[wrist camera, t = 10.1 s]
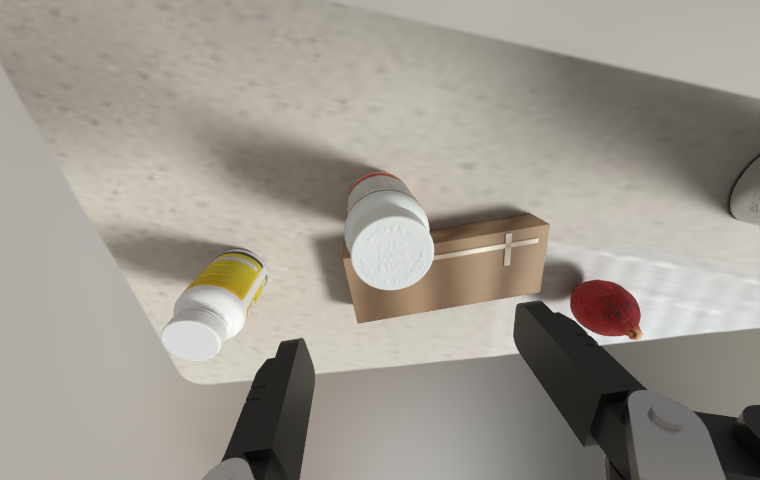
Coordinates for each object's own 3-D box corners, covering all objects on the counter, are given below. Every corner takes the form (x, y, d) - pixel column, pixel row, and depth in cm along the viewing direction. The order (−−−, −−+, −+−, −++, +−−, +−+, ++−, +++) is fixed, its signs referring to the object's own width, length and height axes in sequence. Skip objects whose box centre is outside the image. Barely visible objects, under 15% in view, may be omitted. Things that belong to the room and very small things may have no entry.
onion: (547, 285, 33) (602, 333, 25) (592, 258, 32) (663, 301, 24) (563, 313, 35) (618, 365, 28) (606, 289, 34) (674, 337, 26)
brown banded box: (531, 213, 28) (550, 224, 26) (524, 276, 32) (540, 292, 29) (343, 245, 28) (342, 259, 25) (357, 305, 31) (357, 324, 29)
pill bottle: (398, 236, 28) (424, 305, 18) (340, 223, 27) (332, 290, 17) (417, 179, 26) (459, 221, 15) (354, 162, 25) (354, 196, 14)
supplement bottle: (206, 251, 27) (134, 317, 18) (260, 244, 27) (215, 306, 18) (225, 295, 29) (169, 372, 20) (275, 288, 29) (241, 362, 21)
